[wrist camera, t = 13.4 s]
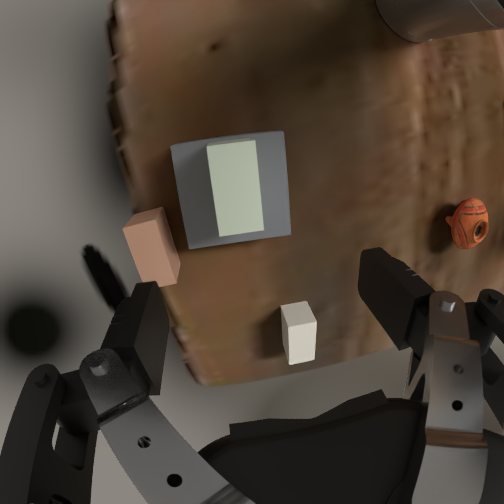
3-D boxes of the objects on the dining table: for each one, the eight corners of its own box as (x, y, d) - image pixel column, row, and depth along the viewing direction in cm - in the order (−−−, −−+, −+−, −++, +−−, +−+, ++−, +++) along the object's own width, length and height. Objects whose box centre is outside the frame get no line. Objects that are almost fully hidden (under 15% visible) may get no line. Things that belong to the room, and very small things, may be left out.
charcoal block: (176, 143, 26) (170, 145, 22) (274, 130, 27) (283, 131, 23) (191, 234, 30) (189, 249, 27) (281, 221, 31) (290, 234, 27)
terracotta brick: (134, 213, 29) (122, 228, 25) (163, 206, 29) (155, 219, 25) (153, 269, 32) (145, 289, 28) (180, 263, 32) (176, 283, 28)
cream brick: (280, 305, 36) (288, 327, 32) (306, 300, 36) (316, 321, 32) (282, 342, 39) (289, 365, 35) (305, 338, 39) (314, 359, 35)
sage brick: (207, 143, 23) (206, 146, 19) (248, 138, 23) (255, 140, 19) (218, 218, 26) (219, 236, 22) (256, 213, 26) (264, 230, 22)
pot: (476, 221, 35) (498, 243, 29) (442, 240, 37) (462, 266, 32) (470, 180, 31) (496, 199, 26) (433, 200, 34) (457, 223, 28)
